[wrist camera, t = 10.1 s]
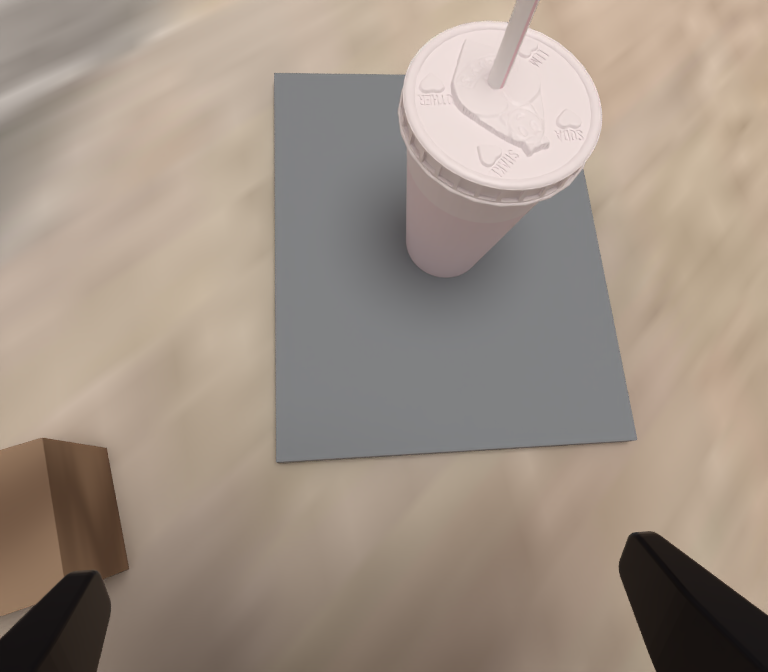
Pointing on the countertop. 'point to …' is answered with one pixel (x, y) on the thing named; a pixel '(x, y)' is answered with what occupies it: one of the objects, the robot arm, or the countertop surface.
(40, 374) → the countertop surface
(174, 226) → the countertop surface
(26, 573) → the walnut block
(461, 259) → the smoothie
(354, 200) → the slate mat
